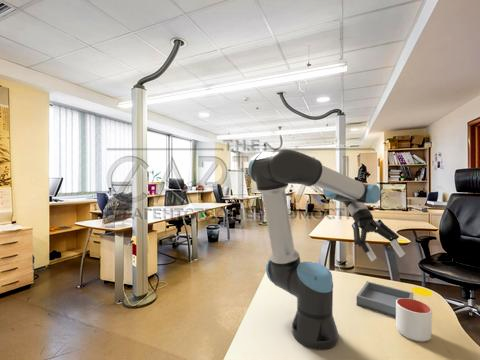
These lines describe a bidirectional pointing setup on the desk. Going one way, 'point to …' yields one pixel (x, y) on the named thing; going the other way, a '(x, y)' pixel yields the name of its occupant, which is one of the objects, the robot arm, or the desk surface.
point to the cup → (413, 319)
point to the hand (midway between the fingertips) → (388, 257)
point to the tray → (381, 298)
